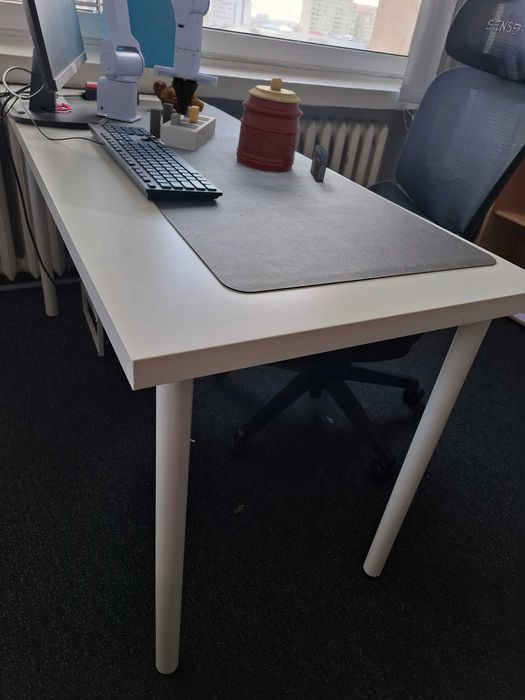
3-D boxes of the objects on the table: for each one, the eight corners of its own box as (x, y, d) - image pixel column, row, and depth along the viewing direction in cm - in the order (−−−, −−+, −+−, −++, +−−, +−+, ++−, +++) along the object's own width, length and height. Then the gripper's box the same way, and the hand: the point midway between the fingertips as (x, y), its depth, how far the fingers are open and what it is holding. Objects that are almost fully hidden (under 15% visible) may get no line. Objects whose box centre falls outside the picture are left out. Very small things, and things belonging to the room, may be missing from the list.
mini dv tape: (310, 172, 116) (315, 144, 113) (316, 173, 116) (322, 145, 113) (316, 182, 109) (322, 153, 106) (322, 183, 109) (329, 154, 106)
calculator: (84, 80, 153) (136, 84, 157) (86, 95, 155) (136, 99, 160) (84, 85, 144) (139, 90, 149) (85, 102, 147) (139, 106, 151)
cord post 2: (160, 130, 127) (162, 103, 124) (163, 128, 130) (164, 102, 126) (170, 131, 127) (171, 105, 124) (172, 130, 129) (174, 104, 126)
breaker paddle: (189, 121, 120) (190, 107, 119) (192, 119, 123) (193, 105, 121) (195, 122, 120) (196, 108, 119) (198, 120, 123) (199, 106, 121)
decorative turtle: (153, 106, 153) (157, 76, 149) (203, 118, 155) (208, 90, 151) (147, 109, 145) (150, 78, 141) (199, 122, 146) (204, 92, 142)
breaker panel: (159, 144, 115) (161, 115, 112) (184, 128, 133) (186, 103, 130) (194, 151, 115) (196, 122, 112) (214, 134, 133) (217, 109, 130)
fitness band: (75, 115, 128) (75, 108, 127) (52, 114, 124) (52, 108, 124) (61, 107, 133) (61, 101, 132) (38, 107, 129) (38, 100, 128)
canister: (225, 155, 116) (235, 68, 106) (275, 157, 122) (288, 75, 112) (251, 173, 107) (264, 79, 97) (303, 174, 113) (320, 86, 103)
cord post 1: (148, 137, 119) (149, 109, 116) (151, 135, 121) (152, 108, 118) (158, 139, 119) (159, 111, 116) (161, 137, 121) (162, 109, 118)
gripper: (150, 43, 111) (148, 111, 118) (215, 56, 110) (209, 123, 118) (159, 42, 117) (157, 107, 124) (221, 54, 116) (215, 118, 124)
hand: (183, 114), depth 121 cm, fingers closed
